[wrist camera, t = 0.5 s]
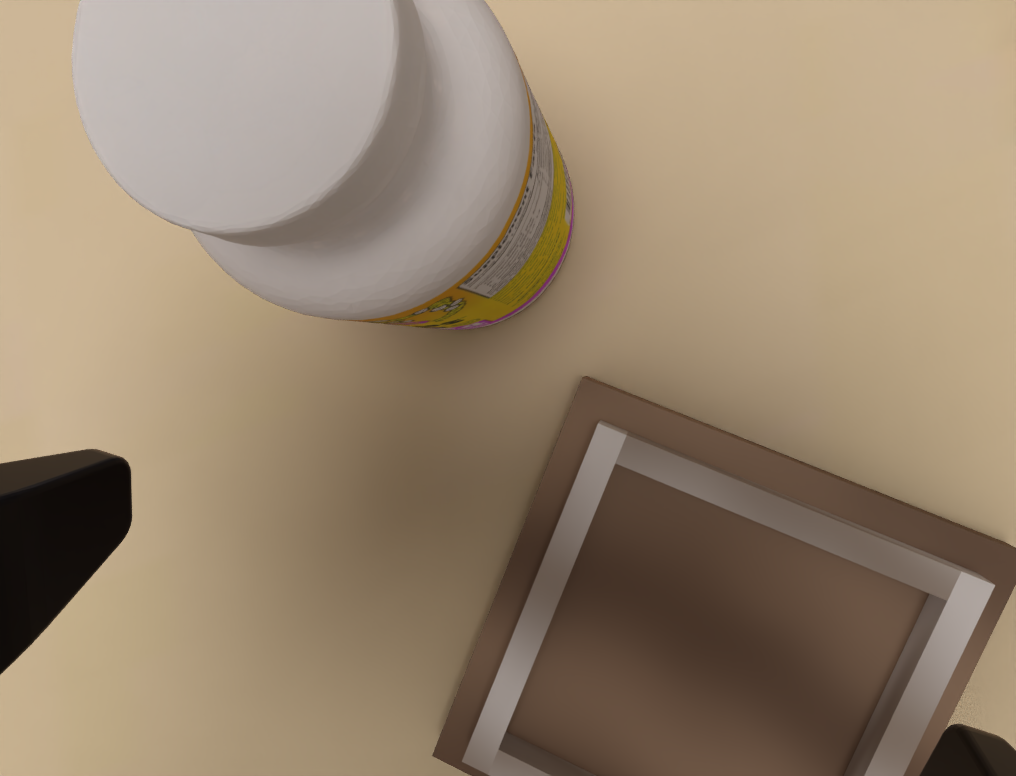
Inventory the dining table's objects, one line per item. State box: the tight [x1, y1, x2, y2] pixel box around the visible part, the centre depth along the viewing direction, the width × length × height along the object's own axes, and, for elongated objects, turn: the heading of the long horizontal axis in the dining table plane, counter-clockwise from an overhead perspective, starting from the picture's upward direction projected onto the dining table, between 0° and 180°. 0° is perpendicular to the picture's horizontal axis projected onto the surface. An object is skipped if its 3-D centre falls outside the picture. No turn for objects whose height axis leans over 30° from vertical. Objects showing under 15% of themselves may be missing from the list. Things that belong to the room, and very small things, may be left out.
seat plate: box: [432, 376, 1016, 776], centre depth 20 cm, size 12×12×2 cm
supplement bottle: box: [72, 0, 574, 330], centre depth 16 cm, size 7×7×13 cm
